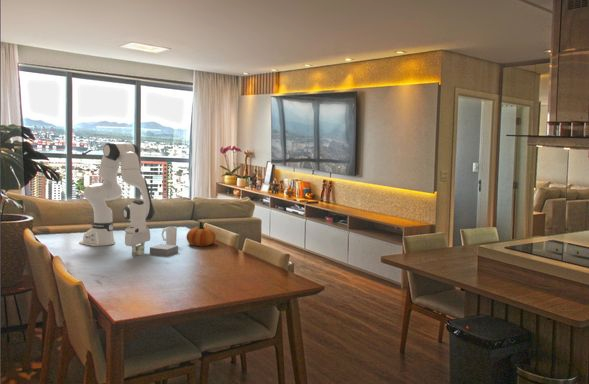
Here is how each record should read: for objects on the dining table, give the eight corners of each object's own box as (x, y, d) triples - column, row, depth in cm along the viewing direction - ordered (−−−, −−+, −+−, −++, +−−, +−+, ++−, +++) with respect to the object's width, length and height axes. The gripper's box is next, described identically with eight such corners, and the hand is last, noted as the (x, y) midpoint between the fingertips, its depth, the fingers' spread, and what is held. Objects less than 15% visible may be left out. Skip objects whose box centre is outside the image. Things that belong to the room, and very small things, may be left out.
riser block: (149, 254, 300) (149, 247, 300) (161, 250, 311) (161, 243, 311) (167, 256, 296) (167, 249, 296) (178, 252, 308) (178, 245, 307)
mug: (178, 245, 329) (178, 226, 328) (173, 246, 323) (173, 228, 321) (164, 243, 331) (164, 225, 330) (159, 245, 325) (159, 227, 324)
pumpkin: (206, 248, 321) (206, 225, 319) (180, 245, 327) (180, 223, 326) (221, 243, 339) (221, 221, 337) (196, 240, 345) (196, 219, 344)
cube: (132, 254, 298) (132, 246, 297) (137, 252, 302) (137, 244, 302) (139, 255, 296) (139, 247, 296) (144, 253, 301) (144, 245, 300)
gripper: (144, 225, 309) (144, 247, 310) (122, 230, 289) (122, 253, 290) (153, 225, 307) (152, 248, 308) (132, 231, 287) (132, 254, 288)
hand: (138, 250), depth 299 cm, fingers closed on cube, 5 cm apart
